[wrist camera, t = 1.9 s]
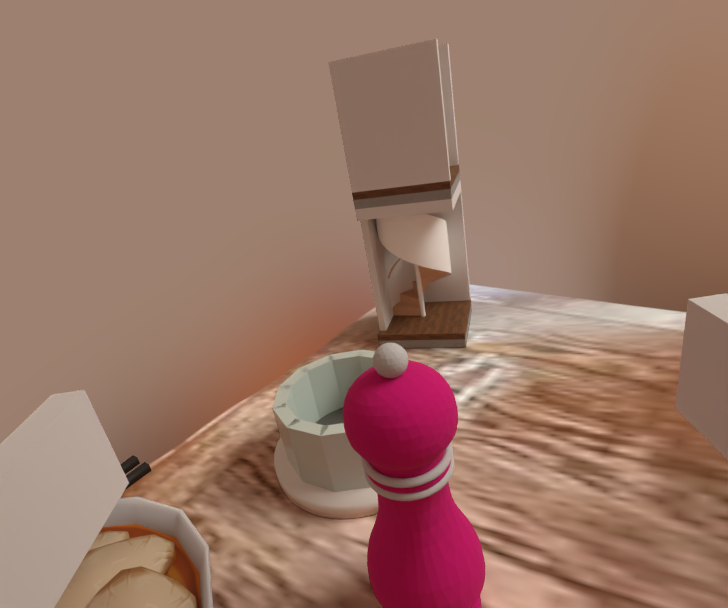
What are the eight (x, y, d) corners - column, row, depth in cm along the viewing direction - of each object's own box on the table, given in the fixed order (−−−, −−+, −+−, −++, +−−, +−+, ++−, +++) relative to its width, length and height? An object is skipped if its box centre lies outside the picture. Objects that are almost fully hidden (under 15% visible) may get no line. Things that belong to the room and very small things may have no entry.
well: (428, 391, 53) (420, 332, 50) (455, 504, 38) (446, 431, 35) (289, 412, 54) (273, 356, 51) (263, 530, 39) (238, 461, 36)
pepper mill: (357, 611, 32) (287, 357, 24) (427, 539, 36) (387, 302, 28) (440, 697, 26) (387, 409, 18) (512, 602, 30) (493, 331, 22)
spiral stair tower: (380, 348, 64) (328, 62, 50) (396, 312, 73) (356, 62, 59) (465, 347, 60) (436, 38, 46) (471, 310, 69) (448, 43, 55)
